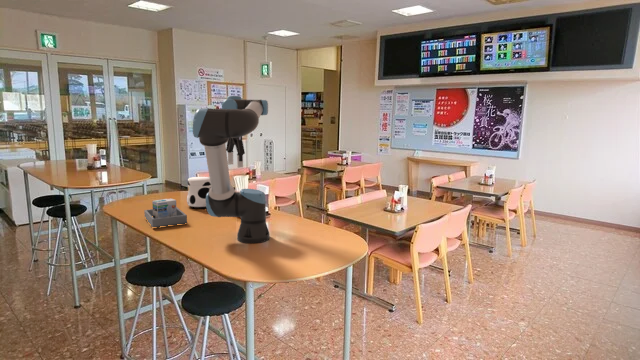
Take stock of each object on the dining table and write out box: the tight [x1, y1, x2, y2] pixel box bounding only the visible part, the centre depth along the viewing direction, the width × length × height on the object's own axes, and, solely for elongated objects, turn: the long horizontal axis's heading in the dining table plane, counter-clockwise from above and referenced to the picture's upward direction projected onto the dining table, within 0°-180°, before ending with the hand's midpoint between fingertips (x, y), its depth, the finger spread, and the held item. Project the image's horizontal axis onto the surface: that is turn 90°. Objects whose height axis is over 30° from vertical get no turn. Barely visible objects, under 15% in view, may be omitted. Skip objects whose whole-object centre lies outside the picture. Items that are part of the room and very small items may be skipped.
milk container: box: [186, 176, 211, 209], centre depth 243 cm, size 17×17×18 cm
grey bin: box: [143, 206, 188, 228], centre depth 209 cm, size 22×17×5 cm
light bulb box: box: [151, 198, 177, 219], centre depth 208 cm, size 11×7×11 cm, turn 137°
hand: (235, 165), depth 207 cm, fingers open, 13 cm apart
